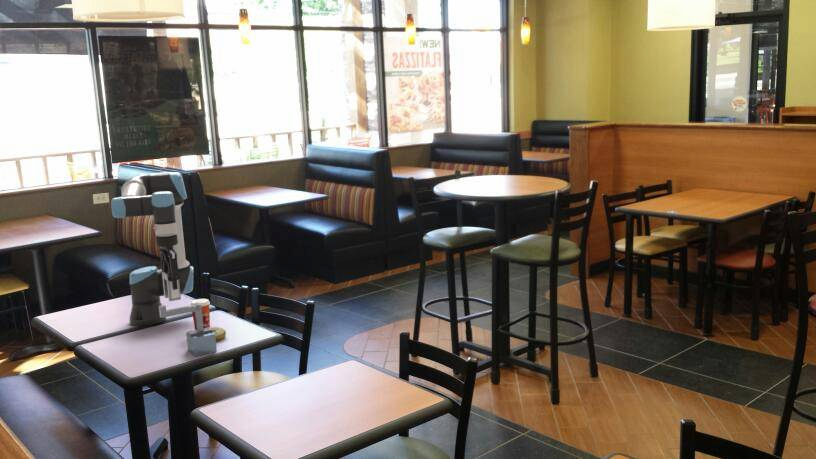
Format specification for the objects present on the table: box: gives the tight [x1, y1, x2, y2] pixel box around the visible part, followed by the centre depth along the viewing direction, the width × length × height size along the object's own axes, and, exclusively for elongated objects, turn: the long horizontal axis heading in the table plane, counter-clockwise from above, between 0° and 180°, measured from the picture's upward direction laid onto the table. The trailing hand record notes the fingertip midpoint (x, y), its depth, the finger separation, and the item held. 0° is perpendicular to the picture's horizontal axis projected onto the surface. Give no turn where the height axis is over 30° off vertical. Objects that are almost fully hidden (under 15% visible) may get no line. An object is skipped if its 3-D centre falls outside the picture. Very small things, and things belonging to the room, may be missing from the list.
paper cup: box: [189, 298, 211, 330], centre depth 299 cm, size 8×8×14 cm
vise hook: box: [159, 304, 218, 357], centre depth 275 cm, size 10×18×20 cm, turn 124°
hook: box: [162, 270, 182, 302], centre depth 270 cm, size 7×4×10 cm, turn 33°
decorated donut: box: [210, 326, 227, 342], centre depth 294 cm, size 10×11×4 cm
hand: (172, 295), depth 271 cm, fingers closed on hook, 7 cm apart
